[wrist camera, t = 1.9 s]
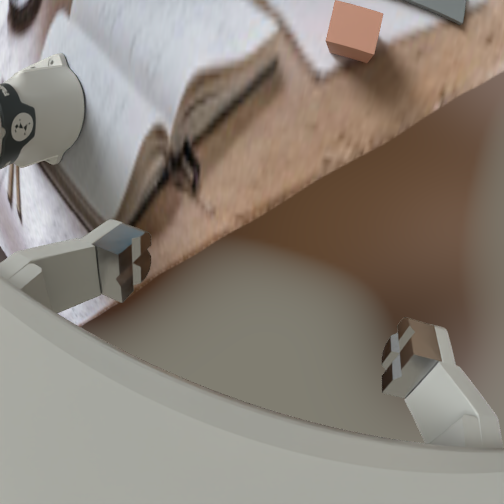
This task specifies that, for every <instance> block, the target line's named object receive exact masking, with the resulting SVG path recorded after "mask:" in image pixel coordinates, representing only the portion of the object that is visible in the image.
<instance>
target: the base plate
mask: <svg viewBox="0 0 504 504" xmlns="http://www.w3.org/2000/svg"><path fill="white" fill-rule="evenodd" d="M403 1H406V2H408V3H411V4H414V5H416V6H419V7H421V8H424V9H426V10H428V11H431V12H433V13H435V14H438V15H440V16H442V17H444V18H446V19H448V20H451V21H453V22H455V23H457V24H459V25H461V24H463V19H464V12H465V5H466V0H403Z"/></svg>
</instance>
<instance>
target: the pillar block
mask: <svg viewBox="0 0 504 504" xmlns="http://www.w3.org/2000/svg"><path fill="white" fill-rule="evenodd" d="M382 18H383V13H380V12H377V11H373V10H370V9H367V8H363V7H360V6H356V5H353V4H349V3H345V2H341V1H337V0H335V3H334V7H333V12H332V16H331V20H330V25H329V29H328V33H327V38H326V43H327V46H328V48H329V51H330V53H333V54H337V55H341V56H344V57H348V58H351V59H354V60H358V61H361V62H364V63H368V61H369V60H370V59H371V58H372V57H373V55H374V53H375V49H376V44H377V40H378V36H379V31H380V27H381V22H382Z"/></svg>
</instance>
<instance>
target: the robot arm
mask: <svg viewBox="0 0 504 504" xmlns="http://www.w3.org/2000/svg"><path fill="white" fill-rule="evenodd" d="M83 119H84V97H83V92H82V88H81V85H80V83H79V81H78V79H77V77H76V76H75V74H74V73H73V72H72V71H71V70H70V69H69V67H68V65H67V62H66V59H65V57H64V55H63V54H62V53H59V54H55V55H52V56H50V57H48V58H46V59H43V60H41V61H39V62H37V63H35V64H33V65H31V66H29V67H27V68H25V69H23V70H21V71H19V72H17V73H15V74H14V75H13V77H11V78H10V79H8V80H7V81H5V82H4V83H2V84H0V169H2V168H4V167H6V166H7V165H10V164H12V163H14V164H15V165H17V166H19V167H20V168H23V167H27V166H29V165H32V164H35V163H38V162H41V161H46V162H48V163H50V164H52V165H55V164H58V163H59V162H60V160H61V158H62V156H63V154H64V152H65V151H66V150H67V149H68V148H70V147H71V146H72V145H73V144H74V142H75V141H76V139H77V138H78V136H79V133H80V131H81V128H82V124H83ZM150 246H151V235H150V233H149V232H146V231H144V230H141V229H138V228H136V227H133V226H130V225H128V224H125V223H122V222H119V221H116V220H114V219H109V220H107V221H106V222H104V223H103V224H102V225H100V226H99V227H97V228H96V229H94V230H93V231H91V232H90V233H89V234H87V235H86V236H84V237H83V238H81V239H77V238H76V239H71V240H66V241H61V242H57V243H52V244H48V245H43V246H39V247H34V248H30V249H26V250H21V251H17V252H15V253H14V254H12V255H11V256H9V257H8V258H7V259H5V260H4V261H3V262H1V263H0V504H504V448H503V444H502V438H501V432H500V426H499V421H498V417H497V416H496V414H495V413H494V411H493V410H492V409H491V407H490V406H489V405H488V403H487V402H486V401H485V399H484V398H483V397H482V395H481V394H480V393H479V391H478V390H477V388H476V387H475V386H474V385H473V383H472V382H471V381H470V379H469V378H468V377H467V376H466V374H465V373H464V372H463V371H462V369H461V368H460V367H459V366H456V364H455V360H454V356H453V351H452V347H451V344H450V340H449V336H448V332H447V330H446V329H445V328H443V327H439V326H435V325H430V324H427V323H424V322H420V321H417V320H413V319H410V318H407V317H404V318H403V319H402V320H401V321H400V323H399V324H398V326H397V329H398V333H396V334H394V335H392V336H390V338H389V340H388V341H387V343H386V345H385V347H384V350H383V354H382V366H383V367H384V369H385V370H386V371H385V372H384V374H383V375H382V393H385V394H389V395H393V396H397V397H401V398H405V402H406V404H407V406H408V408H409V410H410V412H411V414H412V416H413V418H414V420H415V422H416V424H417V427H418V429H419V431H420V433H421V435H422V437H423V439H424V442H425V443H418V442H410V441H403V440H396V439H390V438H383V437H378V436H373V435H367V434H362V433H357V432H352V431H348V430H343V429H339V428H334V427H330V426H326V425H322V424H318V423H314V422H310V421H307V420H303V419H299V418H296V417H292V416H289V415H285V414H281V413H278V412H275V411H272V410H268V409H265V408H262V407H259V406H256V405H253V404H250V403H247V402H244V401H241V400H238V399H236V398H233V397H230V396H227V395H224V394H222V393H219V392H216V391H214V390H211V389H209V388H206V387H204V386H201V385H198V384H196V383H194V382H191V381H189V380H186V379H184V378H181V377H179V376H177V375H174V374H172V373H170V372H168V371H165V370H163V369H161V368H158V367H157V366H154V365H152V364H150V363H148V362H146V361H144V360H142V359H139V358H137V357H135V356H133V355H131V354H129V353H127V352H125V351H123V350H121V349H119V348H117V347H115V346H113V345H111V344H110V343H108V342H106V341H104V340H102V339H100V338H98V337H97V336H95V335H93V334H91V333H89V332H88V331H86V330H84V329H82V328H81V327H79V326H77V325H75V324H74V323H72V322H70V321H69V320H67V319H65V318H64V317H62V316H60V315H59V314H57V313H59V312H62V311H64V310H66V309H69V308H71V307H74V306H76V305H78V304H81V303H83V302H85V301H88V300H90V299H93V298H95V297H97V296H100V295H101V294H103V295H105V296H107V297H110V298H112V299H114V300H116V301H119V302H121V303H123V302H124V300H125V299H126V298H127V297H128V296H129V295H130V294H131V293H132V292H133V291H134V289H133V285H136V284H139V283H141V282H142V281H143V280H144V279H145V278H146V276H147V274H148V272H149V270H150V266H151V255H150V253H149V252H148V250H147V249H148V248H149V247H150Z"/></svg>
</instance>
